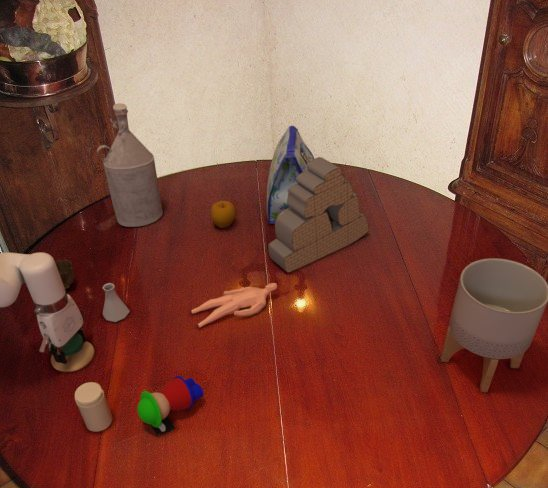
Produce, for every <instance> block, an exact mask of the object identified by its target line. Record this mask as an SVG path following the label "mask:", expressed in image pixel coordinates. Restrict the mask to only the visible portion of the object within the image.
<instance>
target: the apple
mask: <svg viewBox="0 0 548 488" xmlns="http://www.w3.org/2000/svg"><path fill="white" fill-rule="evenodd" d="M210 208H211V209H210V218H211V220H212V222H213V223H214V224H215V226H217V228H219V229H225V228H228V227H230V226H231V225H232V224H233V222H234V221H235V220H236V217H237V211H236V208H235V206H234V204H233V203H232V202H231V201H228V200H219V201H216V202H215V203H213V204H212V206H211V207H210Z"/></svg>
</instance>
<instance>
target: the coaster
mask: <svg viewBox="0 0 548 488" xmlns="http://www.w3.org/2000/svg"><path fill="white" fill-rule="evenodd" d="M94 356H95V348H94V346H93V344H92V343H90V342H89V341H88V340H86V342H85V343H84V345H83V348H82V349H81V350H80V351H79V352H78V353H76V354H74V355H71V356H65V358H66V360H67V363H66V364H63V363H58V362H56V361H55V359H54V357H53V355H50V363H51V365H52V368H54V369H55V370H56V371H59V372H62V373H72V372H76V371H79V370H82V369H83V368H85V367H86V366H88V365H89V364H90V363H91V362H92V360H93V359H94Z"/></svg>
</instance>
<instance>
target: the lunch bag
mask: <svg viewBox="0 0 548 488" xmlns="http://www.w3.org/2000/svg"><path fill="white" fill-rule="evenodd" d="M313 159H315V156H314V155H313V153H312V151H311V150H310V149H309V147H308V146H307V144H306V143H305V141H304V140H303V137H302V136H301V133H300V132H299V129H298V128H297V127H296V126H295V125H289V126H288V128H287V129H286V130H285V132H284V133H283V135H282V136H281V138H280V139H279V141H278V143H277V145H276V147H275V149H274V152H273V157H272V159H271V163H270V167H269V172H268V178H267V186H266V216H267V217H266V218H267V222H268V224H272V225H273V224H274V225H275V223H276V219H277V217H278V216H279V215H280V214H281V213H282V212H284V211H285V210H286V209H288V208H290V206H288V205H287V198H288V190H289V188H290V187H291V186H292V185H294V184H297V183H298V182H296V177H297V176H298V175H299V174H301V173H302V172H305V171H307V163H308V162H310V161H312V160H313Z"/></svg>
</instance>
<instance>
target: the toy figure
mask: <svg viewBox="0 0 548 488" xmlns="http://www.w3.org/2000/svg"><path fill="white" fill-rule="evenodd" d="M203 397H204V389H203V388H202V386H201V385H200V384H199V383H196V381H195V380H194V378H192V377H188V378H186V379H184V377H182V376H181V375H176V376H174V378H173V379H171V380H170V381H169V382H168V383H166V385H165V386H164V387H163V388H162V390H161V391H160V392H156V391H155V392H151V393H150V392H149V391H147V390H143V391H142V392H141V394H140V400H139V402H138V404H137V415H138V417H139V419H140V420H141V421H142V422H143V423H145V424H147V425H150V427H151V429H152V431H154V434H155V435H156V437H157V436H161V435H162V434H165V433H168V432H170V431H173V430H175V429H176V427H175V425H174V424H173V422H172V420H171V419H170V417H169V414H170V411H182V410H185V409H191V408H193V406H194V403H195V402H196V401H197V400H199V399H201V398H203Z"/></svg>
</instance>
